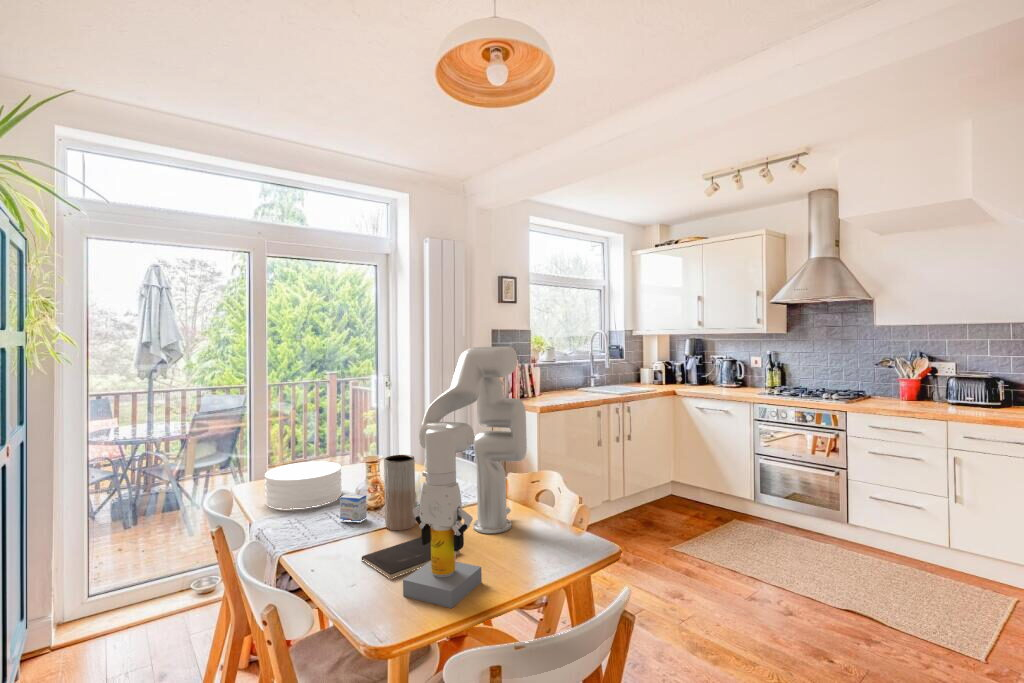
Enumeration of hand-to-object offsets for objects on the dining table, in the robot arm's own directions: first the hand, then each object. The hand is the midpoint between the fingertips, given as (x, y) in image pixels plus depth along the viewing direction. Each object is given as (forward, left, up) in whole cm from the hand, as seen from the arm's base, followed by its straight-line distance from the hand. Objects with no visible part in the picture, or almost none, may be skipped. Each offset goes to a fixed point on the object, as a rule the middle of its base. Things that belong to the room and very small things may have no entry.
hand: (442, 546), depth 131 cm
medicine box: (-28, -56, -11) cm, 64 cm away
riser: (0, 0, -11) cm, 11 cm away
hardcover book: (-12, -19, -12) cm, 25 cm away
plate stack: (-39, -92, -11) cm, 101 cm away
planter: (-31, -38, -11) cm, 50 cm away
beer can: (0, 0, -7) cm, 7 cm away
